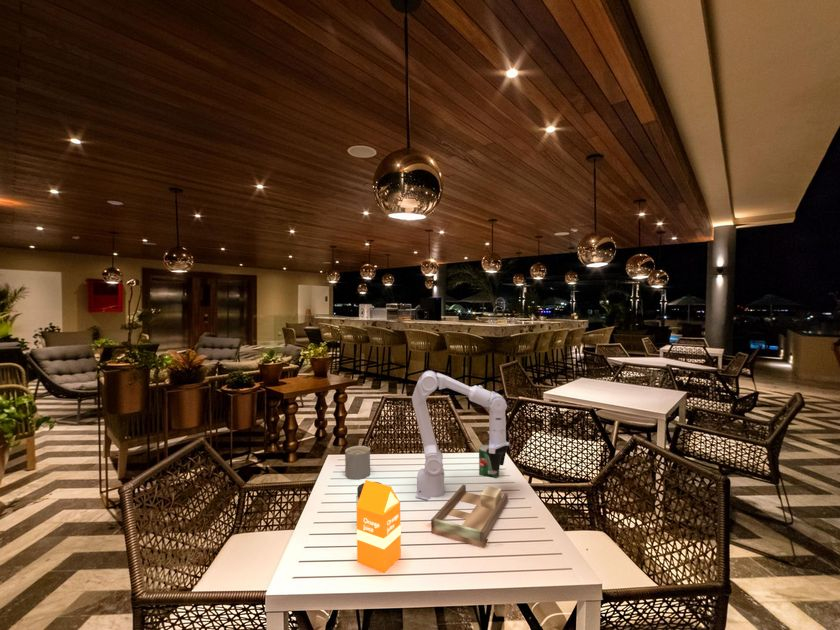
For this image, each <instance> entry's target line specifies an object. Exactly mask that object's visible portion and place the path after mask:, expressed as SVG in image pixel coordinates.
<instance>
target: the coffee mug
mask: <svg viewBox="0 0 840 630" xmlns="http://www.w3.org/2000/svg"><path fill="white" fill-rule="evenodd" d="M344 457H345V458H344V459H345V460H344V462H345V465H344V466H345V469H344V470H345V477H346V479H348V480H354V481H357V480H358V481H359V480H363V479H367V478H368V477H369V476H370V475H371V448H370V447H368V446H366V445H365V446H364V445H354V446H350V447H348V448H346V449H345V451H344Z"/></svg>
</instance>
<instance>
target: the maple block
mask: <svg viewBox="0 0 840 630" xmlns="http://www.w3.org/2000/svg"><path fill="white" fill-rule="evenodd" d="M480 495H481V507H484V508H489V509H493V510H494V509H495V508H496V506H497V505H498V503H499V501H500V500H501V498H502V488H499V487H495V486H491V485H486V486H485V488H484V489H483V490H482V492H481V493H480Z"/></svg>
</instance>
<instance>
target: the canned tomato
mask: <svg viewBox="0 0 840 630" xmlns="http://www.w3.org/2000/svg"><path fill="white" fill-rule="evenodd" d="M487 449H489V444H481V445H480V446H478V472H479V473H478V474H479V476H483V477H488V478H493V479H498V478H499V477H500V470H499V471H494V470H492V466H491V462H490V459H489V456H488V455H487V453H486V450H487Z"/></svg>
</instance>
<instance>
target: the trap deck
mask: <svg viewBox="0 0 840 630" xmlns="http://www.w3.org/2000/svg"><path fill="white" fill-rule="evenodd" d="M466 486H467V485H466V484H462V485H461V486H460V487H458V488H459V489H457V491H455V492H454V494H453V495H451V497H450V498H449V499H448V501H446V502H445V503H444V504H443V506H442V507H441V508H440V509H439V510H438V511H437V512H436V513H435V515H434V516H433V517H432V518H431V520H430V522H431V523H430V524H431V525H430V526H431V527H430V531H431V532H430V533H431V534H433V535H436V536H440V537H444V538H447V539H451V540H453V541H458V542H462V543H464V544H469V545H471V546H476V547H479V548H483V549H484V548H485V546H486V544H487V543H488V541H489V539H488V536H489V534H490V532H491V531H492V529H493V527H494V525H495V524H496V522H497V521H498V519H499V517H500V515H501V513H502V512H503V510H504V509H505V507H506V505H507V504H508V502H509V498H508V493H506V492H505V493H504V494H503V495H502V496H501V500H500V501H499V503H498V505H497V506H496V508H495V509H494V510H493V509H489V508H484V507H481V494H476V493H471V492H467V490H466V489H467V487H466ZM460 502H461V503H465V504H469V505H470V504H471V505H475V507H474V508H473V509H472V510H471V512H470V513H469V512H466V511H462V510H458V509H455V507H456V506H457V505H458V504H459V503H460ZM448 516H451V517H454V518H458V519H463V520H464V521H463V523H462V524H461V525H460V524H458V523H454V522H450V521H446V520H445V519H446V518H447V517H448Z"/></svg>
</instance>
